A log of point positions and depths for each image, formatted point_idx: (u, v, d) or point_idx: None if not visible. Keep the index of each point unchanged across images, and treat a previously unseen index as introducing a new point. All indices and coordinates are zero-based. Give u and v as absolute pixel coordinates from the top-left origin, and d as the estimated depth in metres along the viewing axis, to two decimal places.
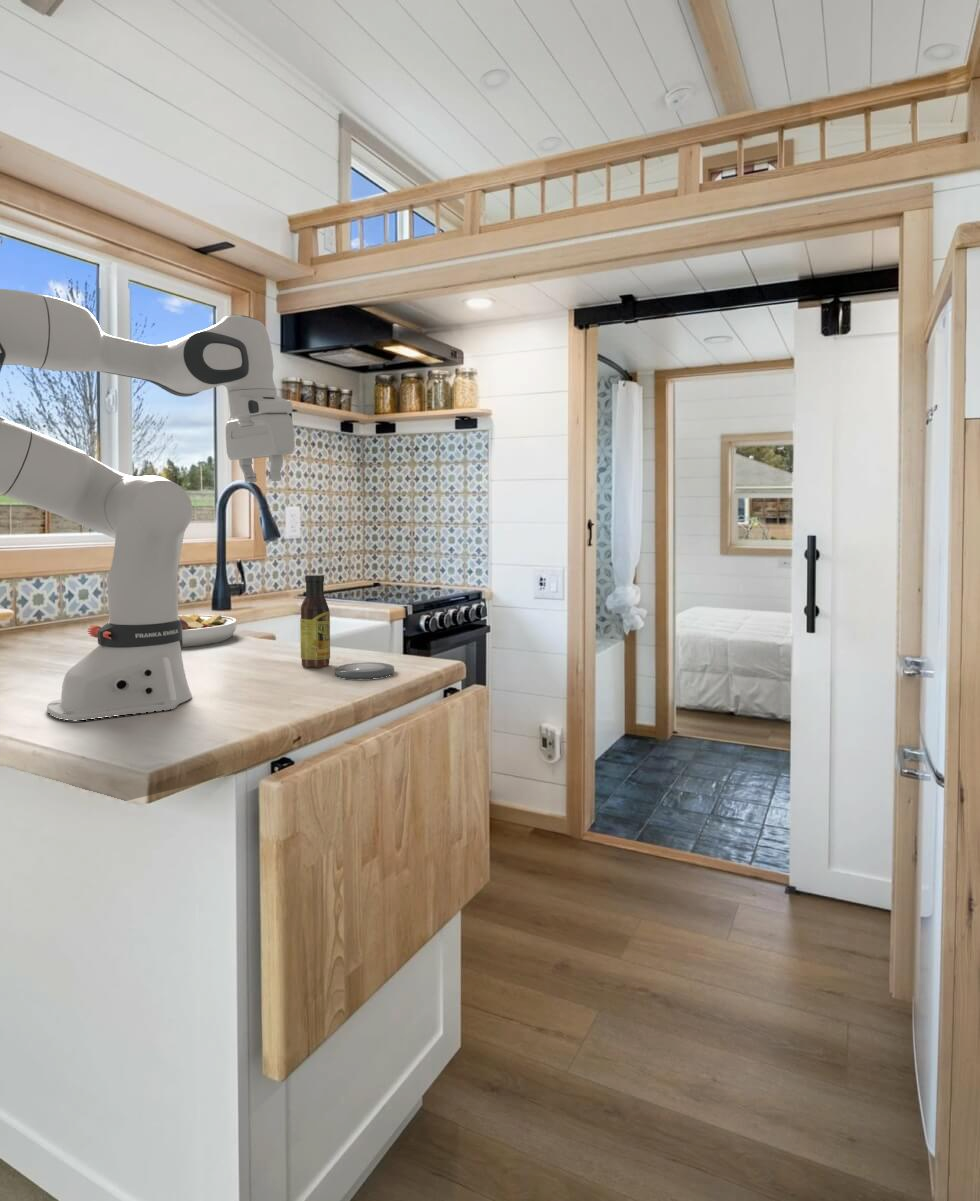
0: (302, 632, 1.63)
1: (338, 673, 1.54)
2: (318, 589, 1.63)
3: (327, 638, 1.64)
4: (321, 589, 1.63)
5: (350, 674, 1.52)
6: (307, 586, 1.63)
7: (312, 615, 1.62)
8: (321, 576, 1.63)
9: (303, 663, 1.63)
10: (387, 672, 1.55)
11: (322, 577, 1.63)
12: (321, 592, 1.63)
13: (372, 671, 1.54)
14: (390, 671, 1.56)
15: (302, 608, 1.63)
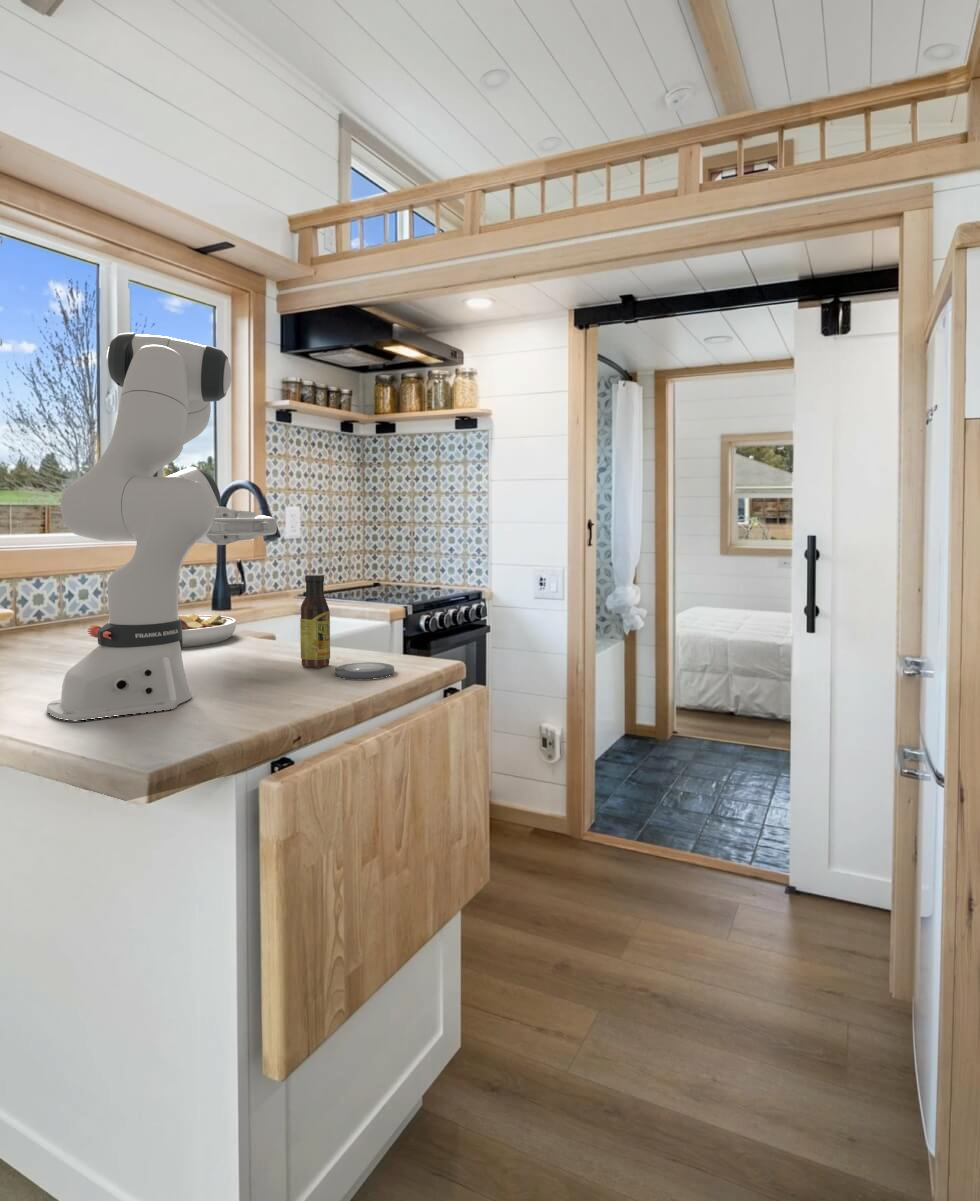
0: (302, 632, 1.63)
1: (338, 673, 1.54)
2: (318, 589, 1.63)
3: (327, 638, 1.64)
4: (321, 589, 1.63)
5: (350, 674, 1.52)
6: (307, 586, 1.63)
7: (312, 615, 1.62)
8: (321, 576, 1.63)
9: (303, 663, 1.63)
10: (387, 672, 1.55)
11: (322, 577, 1.63)
12: (321, 592, 1.63)
13: (372, 671, 1.54)
14: (390, 671, 1.56)
15: (302, 608, 1.63)
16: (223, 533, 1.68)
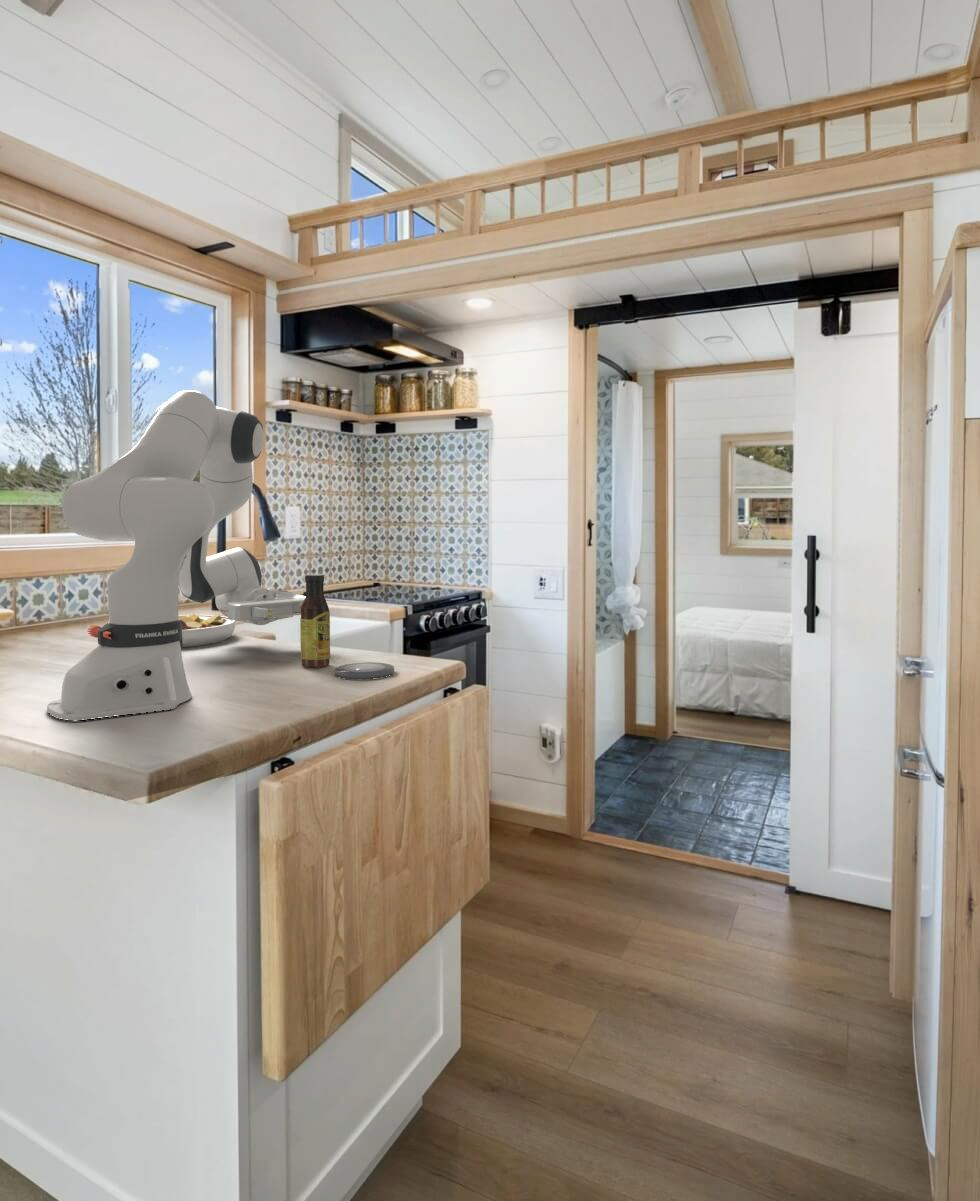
0: (302, 632, 1.63)
1: (338, 673, 1.54)
2: (318, 589, 1.63)
3: (327, 638, 1.64)
4: (321, 589, 1.63)
5: (350, 674, 1.52)
6: (307, 586, 1.63)
7: (312, 615, 1.62)
8: (321, 576, 1.63)
9: (303, 663, 1.63)
10: (387, 672, 1.55)
11: (322, 577, 1.63)
12: (321, 592, 1.63)
13: (372, 671, 1.54)
14: (390, 671, 1.56)
15: (302, 608, 1.63)
16: (265, 617, 1.74)
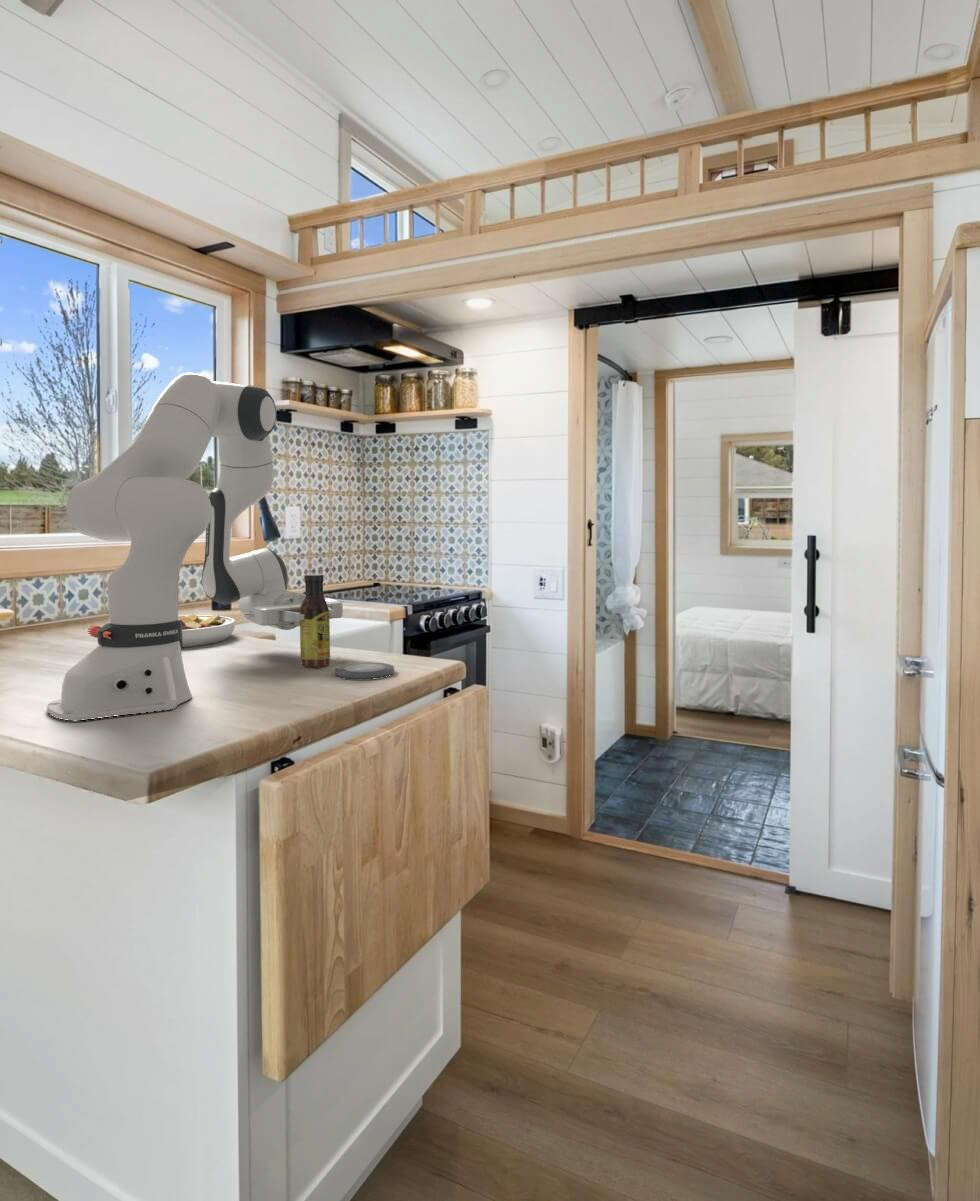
0: (301, 632, 1.63)
1: (338, 673, 1.54)
2: (317, 589, 1.63)
3: (327, 638, 1.64)
4: (320, 589, 1.63)
5: (350, 674, 1.52)
6: (307, 586, 1.63)
7: (312, 615, 1.62)
8: (320, 576, 1.63)
9: (303, 663, 1.63)
10: (387, 672, 1.55)
11: (321, 577, 1.63)
12: (320, 592, 1.63)
13: (372, 671, 1.54)
14: (390, 671, 1.56)
15: (301, 608, 1.63)
16: (292, 622, 1.65)
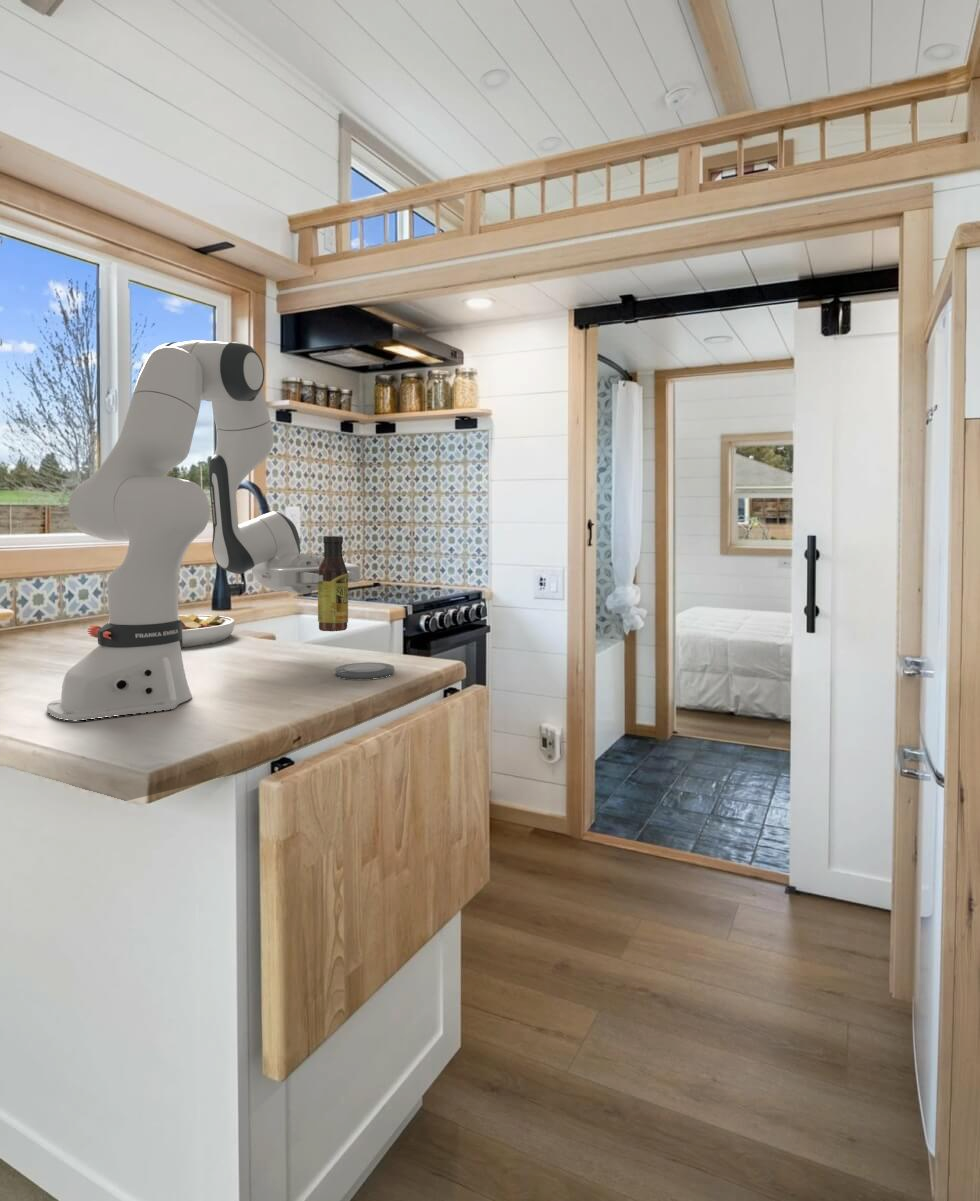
0: (319, 594, 1.59)
1: (338, 673, 1.54)
2: (337, 551, 1.59)
3: (345, 601, 1.60)
4: (340, 551, 1.59)
5: (350, 674, 1.52)
6: (326, 547, 1.59)
7: (330, 577, 1.57)
8: (340, 537, 1.59)
9: (321, 626, 1.59)
10: (387, 672, 1.55)
11: (341, 538, 1.59)
12: (340, 554, 1.59)
13: (372, 671, 1.54)
14: (390, 671, 1.56)
15: (320, 570, 1.58)
16: (310, 584, 1.61)
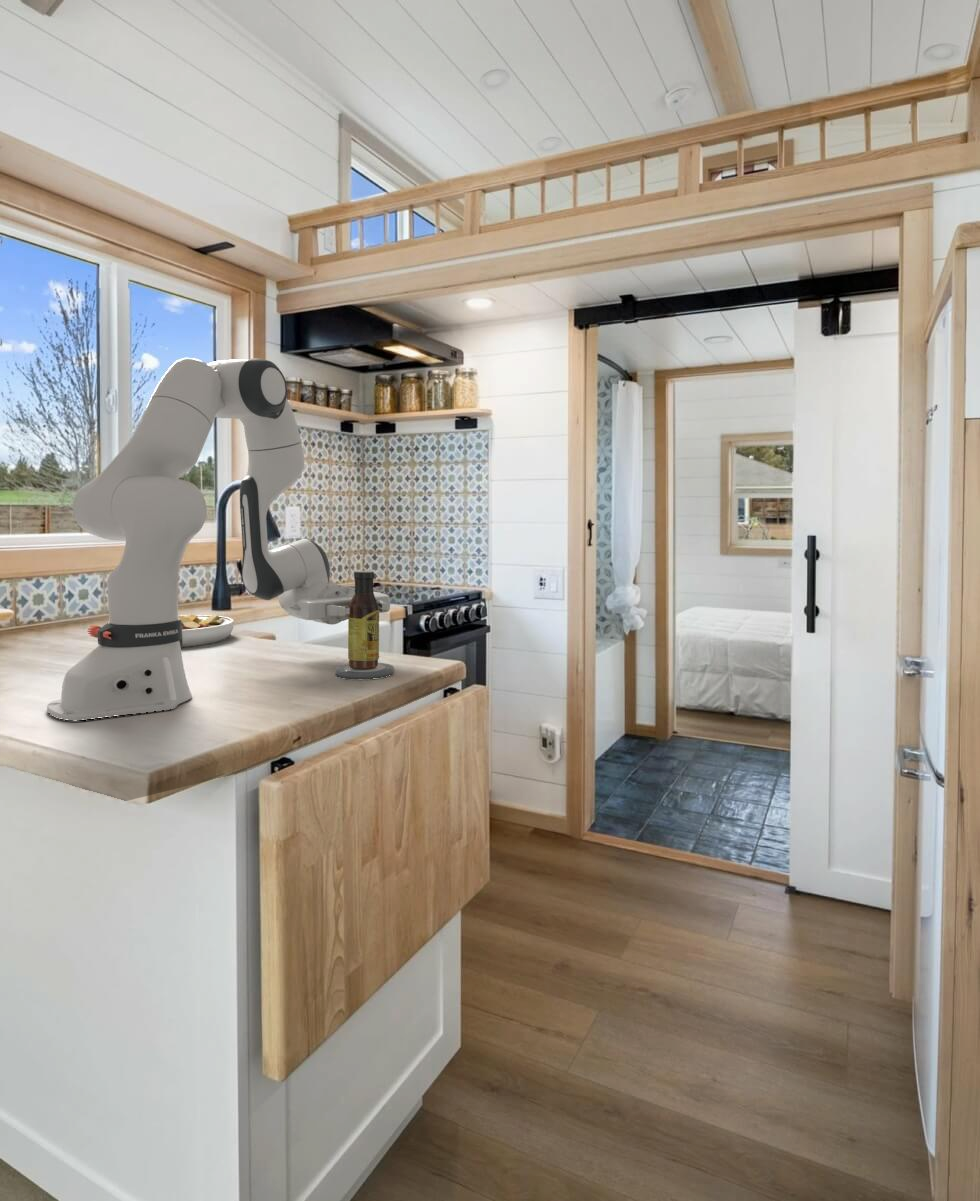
0: (350, 631, 1.55)
1: (338, 673, 1.54)
2: (368, 587, 1.54)
3: (376, 638, 1.56)
4: (371, 587, 1.55)
5: (350, 674, 1.52)
6: (357, 583, 1.54)
7: (362, 614, 1.53)
8: (371, 573, 1.55)
9: (351, 664, 1.55)
10: (387, 672, 1.55)
11: (372, 574, 1.55)
12: (371, 590, 1.55)
13: (372, 671, 1.54)
14: (390, 671, 1.56)
15: (351, 606, 1.54)
16: (340, 615, 1.57)
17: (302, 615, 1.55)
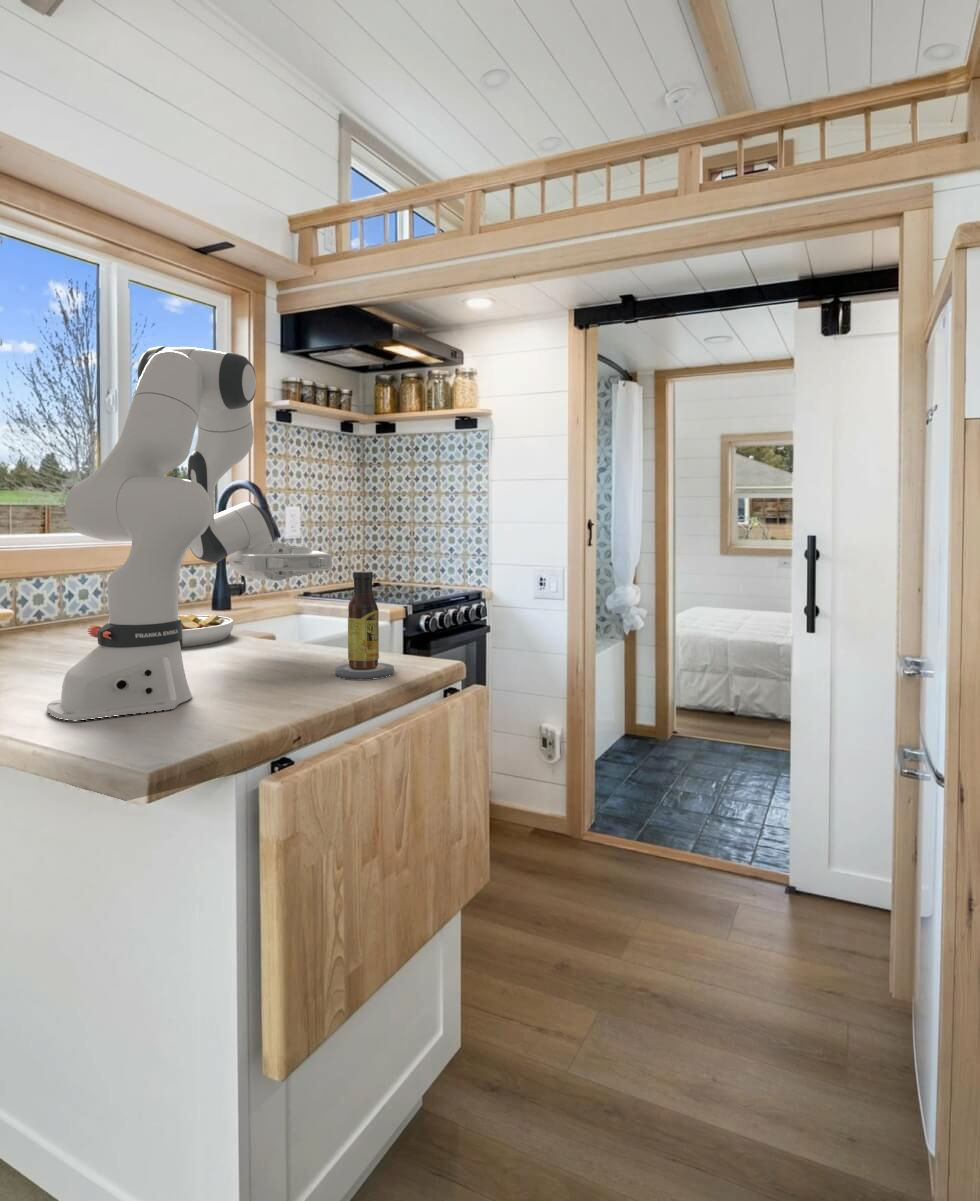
0: (350, 631, 1.55)
1: (338, 673, 1.54)
2: (367, 587, 1.55)
3: (376, 638, 1.56)
4: (370, 587, 1.55)
5: (350, 674, 1.52)
6: (356, 583, 1.55)
7: (361, 614, 1.54)
8: (370, 573, 1.55)
9: (351, 664, 1.55)
10: (387, 672, 1.55)
11: (371, 574, 1.55)
12: (370, 590, 1.55)
13: (372, 671, 1.54)
14: (390, 671, 1.56)
15: (350, 606, 1.55)
16: (280, 569, 1.66)
17: (244, 568, 1.64)
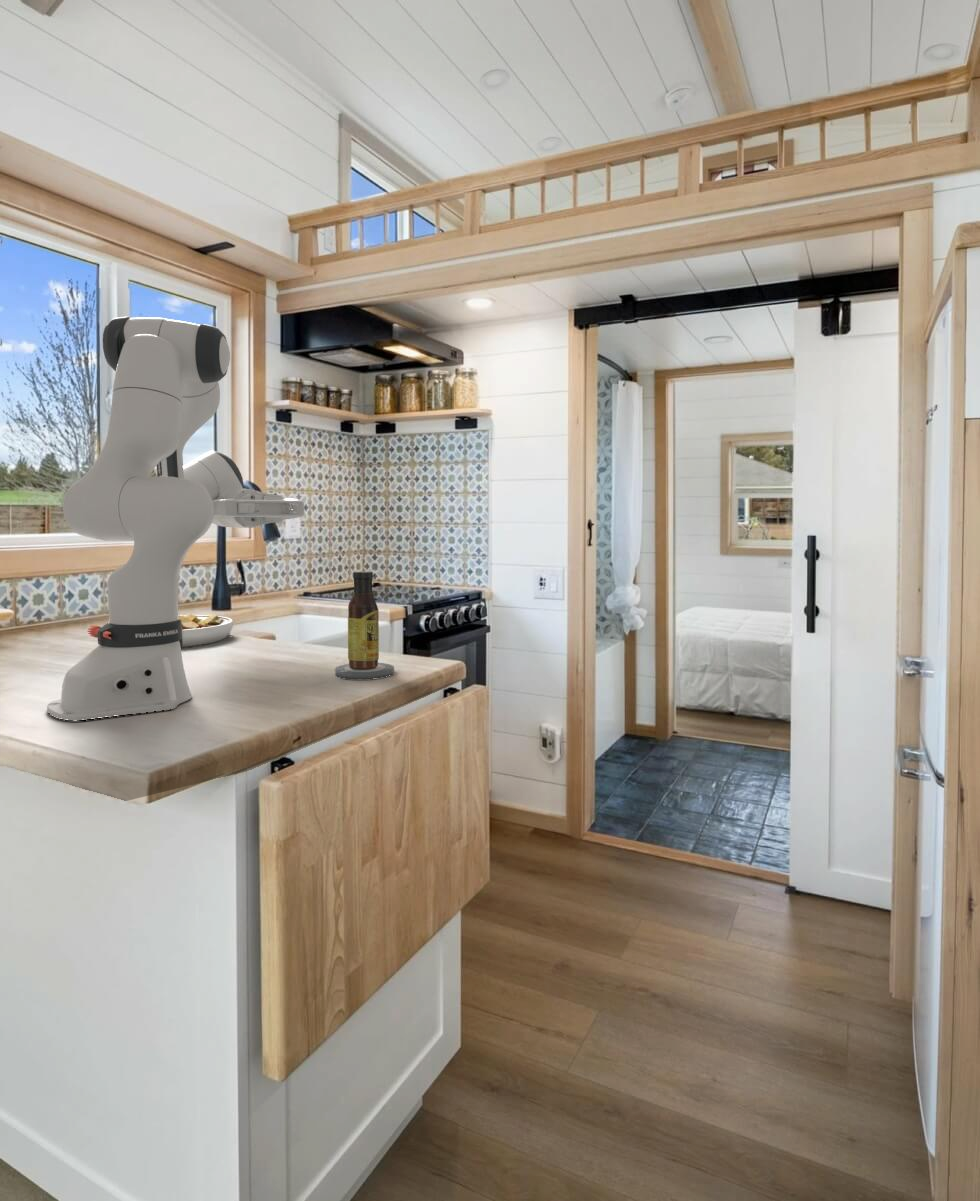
0: (350, 631, 1.55)
1: (338, 673, 1.54)
2: (367, 587, 1.55)
3: (376, 638, 1.56)
4: (370, 587, 1.55)
5: (350, 674, 1.52)
6: (356, 583, 1.55)
7: (361, 614, 1.54)
8: (370, 573, 1.55)
9: (351, 664, 1.55)
10: (387, 672, 1.55)
11: (371, 574, 1.55)
12: (370, 590, 1.55)
13: (372, 671, 1.54)
14: (390, 671, 1.56)
15: (350, 606, 1.55)
16: (252, 515, 1.66)
17: (215, 513, 1.64)
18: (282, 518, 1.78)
